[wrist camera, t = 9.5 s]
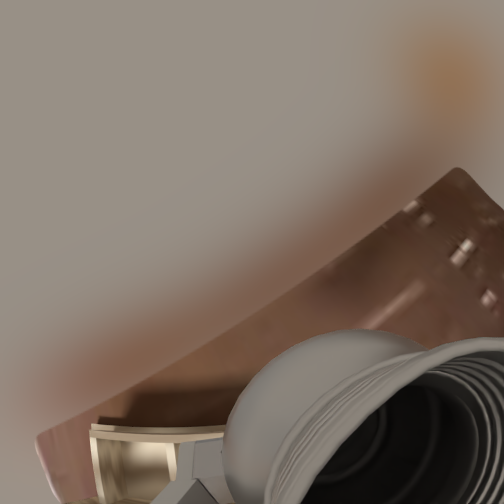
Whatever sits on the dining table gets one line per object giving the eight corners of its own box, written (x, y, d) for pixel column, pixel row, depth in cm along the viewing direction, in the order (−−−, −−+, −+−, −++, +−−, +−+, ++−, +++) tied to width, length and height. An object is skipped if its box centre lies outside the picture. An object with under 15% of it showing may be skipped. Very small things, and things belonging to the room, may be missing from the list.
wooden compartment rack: (317, 508, 25) (329, 542, 15) (108, 507, 26) (59, 521, 15) (301, 413, 33) (309, 414, 23) (96, 424, 33) (43, 417, 23)
